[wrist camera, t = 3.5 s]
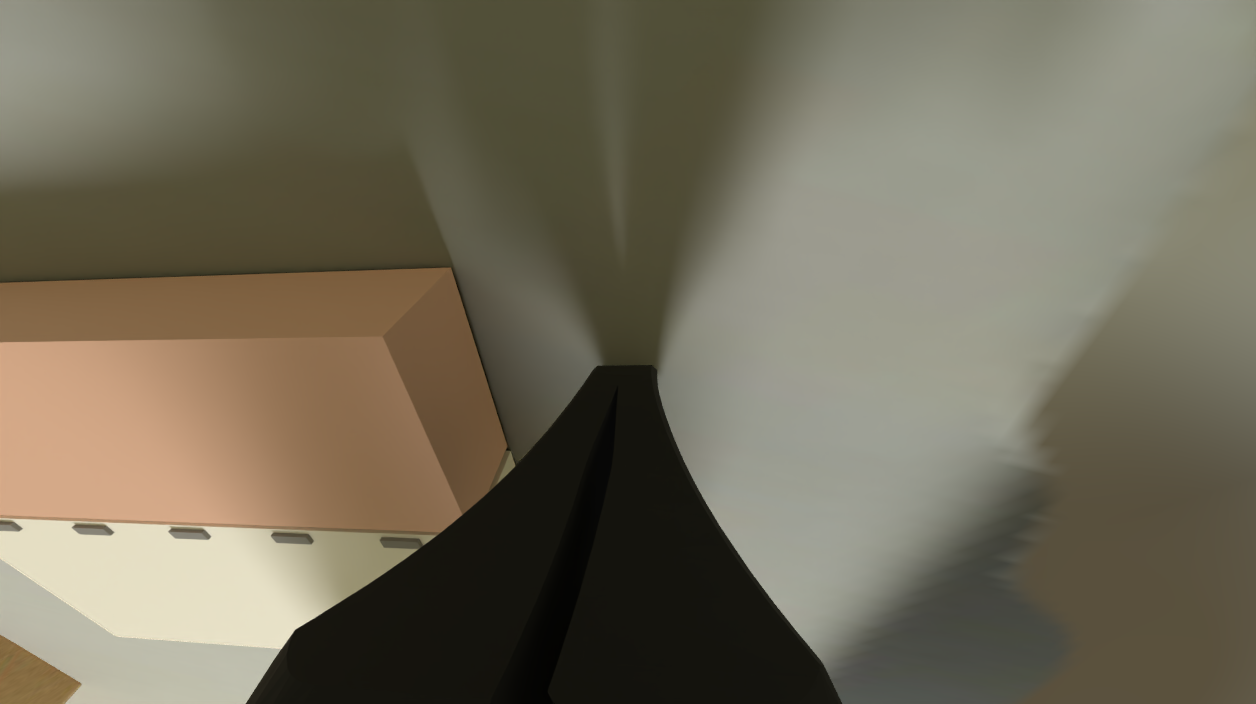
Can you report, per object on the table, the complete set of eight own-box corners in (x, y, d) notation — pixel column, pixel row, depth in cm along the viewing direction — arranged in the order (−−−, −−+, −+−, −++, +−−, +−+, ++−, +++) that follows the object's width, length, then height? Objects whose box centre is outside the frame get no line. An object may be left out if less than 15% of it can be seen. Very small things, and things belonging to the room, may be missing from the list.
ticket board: (552, 583, 17) (532, 670, 15) (182, 565, 19) (113, 639, 17) (510, 450, 13) (473, 540, 11) (48, 443, 15) (-69, 518, 13)
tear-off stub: (507, 446, 13) (470, 533, 11) (38, 438, 15) (-79, 512, 13) (451, 267, 10) (382, 335, 8) (-132, 287, 12) (-327, 347, 10)
